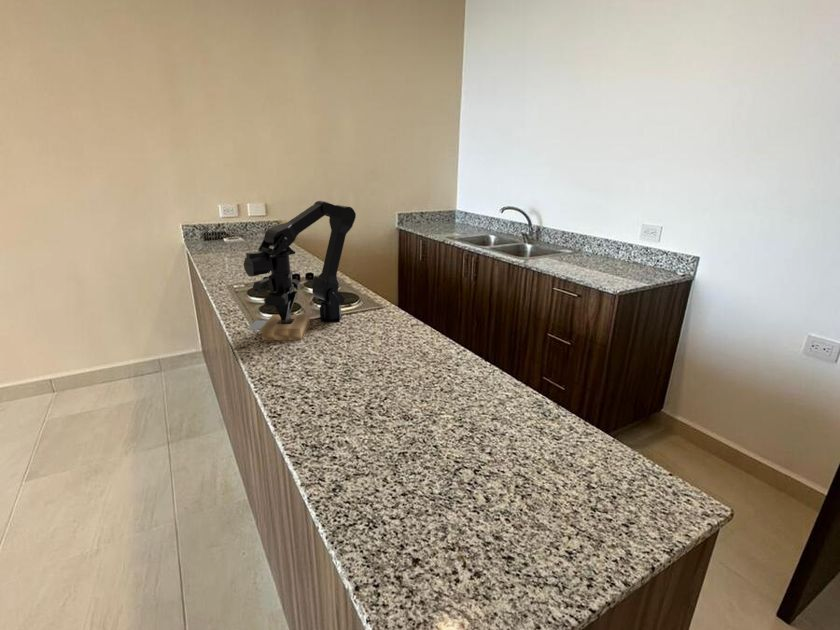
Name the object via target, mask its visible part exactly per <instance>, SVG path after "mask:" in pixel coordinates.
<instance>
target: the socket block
mask: <svg viewBox="0 0 840 630" xmlns="http://www.w3.org/2000/svg"><path fill="white" fill-rule="evenodd" d="M290 317H291V324H281V317H280V315H279V314H272V315H271V317H269V318H268V320H266V321H267V322H266V323H265V324H264V326H263V327H262V328H261V330H260V332H261V338H262V339H261V340H265V341H267V340H268V341H270V340H271V341H278V340H280V341H302V339H303V338H304V337H305V334H306V333H307V331H308V329H309V328H310V326H311V322H310V321H311V320H310V315H309V314H290Z"/></svg>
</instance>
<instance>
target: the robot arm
mask: <svg viewBox="0 0 840 630" xmlns="http://www.w3.org/2000/svg"><path fill="white" fill-rule="evenodd" d="M324 216H326V217H329V220H328V221H329V226H330V235H329V240H328V244H327V248H326V253H325V257H324V262H323V265H322V266H323V267H322V271H321V273H320V274H319V275H318V276H317V275H316V276H314V278H313V281H312V282H313V283H312V284H311V286H310V287H311V288H312V294H313V295H314V297H315V298H316V299H317V302H320V306H319V319H320V322H324V323H340V321H341V320H342V318H343V314H342V307H341V305H343V304H345V303H344V302H345V296H343V295H342V294H341V293H339V282H338V281H339V280H338V277H337V275H338V272H339V271H338V270H339V266H340V261H341V257H342V253H343V249H344V245H345V239H346V237H347V234H348V233H349V232H350V231H351V229H352V228H353V226H354V223H355V222H356V221H355V220H356V217H357V215H356V212H355V210H354V208H353V207H351V206H346V205H345V206H344V205H339V204H336V205H335V204H334V203H333V204H332V203H330V202H328V201H325V200H324V201H323V200H317V201H315V202H314V203H313V205H310V207H308V208H307V209H305V210H304V211H302V212H300V213H299V214H297V215H296V216H295V217H293V218H291V219H290V220H289V221H287V222H285V223H281V224H277V225H275V226H274V225H273V226H272V227H270V228H268V229H267V230H266V231H265V232H264V238H263V240H262V242H261V244H260V245H259V247H258V250H257V251H255V252H246V253H245V256H246V257H245V258H244V260H243V268H244V271H245V273H246V275H248V277H251V278H252V277H256V276H261V275H265V274H269V273H270V274H269V275H268V277H266V278H264V279H260V280H258V281H255V282H253V285H252V291H253V292H255V293H256V294H257V295H261V294H262V293H265V292H267V291H269V293H268V294H266V295H267V296H265V297H264V299H263V302H264V303H263V304H264V306H265V307H266V306H268V307H273V306H274V307H275V308H276V311H277V312H278V315H280V317H281V320H283V321H285V320H286V316H287V313H288V309H289V306H290V313H291V311H292V309H293V306H294V303H295V299H296V298H297V294H298V290H299V289H300V288H301V284H300V283H301V282H300V281H299V280H298V279H293V278H292V276H293V274H294V273H293V271H292V270H291V262H290V261H291V260H290V255H291V256H292V255H296V251H295V250H293V249H292V248H291V245H292V244H293V243H294V242H295V241H296V239H297V236H298V235H299V234H300V233H302V232H303V231H304V230H306V229H308V228H309V227H310V226H312V225H314V224H315V223H316V222H318V221H319V220H320V219H322V218H323V217H324ZM294 288H295V289H296V291H294V290H293V289H294Z"/></svg>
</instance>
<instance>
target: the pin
mask: <svg viewBox="0 0 840 630" xmlns="http://www.w3.org/2000/svg"><path fill="white" fill-rule="evenodd" d="M290 315H291V312H290V306H289V309H288V313H287V316H286V320H285V321H283V320H281V324H291V317H290Z"/></svg>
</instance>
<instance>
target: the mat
mask: <svg viewBox="0 0 840 630" xmlns="http://www.w3.org/2000/svg"><path fill="white" fill-rule="evenodd" d="M267 321H268V320H263V319H262V320H257V319H255V320H254V321H253V323H251V325H250V326H249V327H248V328H247V330H254V331H255V330H256V331H257V330H258V331H259V330H260V331H261V328H262V327H263V326H264V324H265V323H266V322H267Z"/></svg>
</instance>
